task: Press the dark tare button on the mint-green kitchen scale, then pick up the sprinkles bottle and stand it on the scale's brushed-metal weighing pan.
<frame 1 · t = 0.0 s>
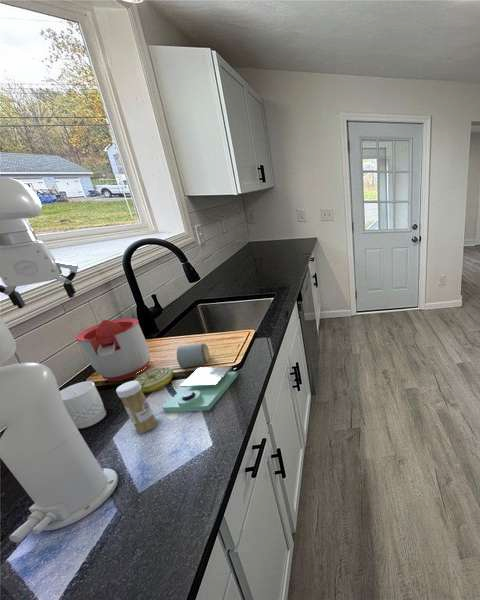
hand: (48, 301, 85), 31 cm above the counter, tool pointing down, fingers open, 9 cm apart
white cup: (91, 420, 86), on the counter
sprinkles bottle: (147, 427, 82), on the counter
tare button: (188, 395, 88), point 3 cm above the counter, slide at 0.2 cm
citrus juicer: (128, 373, 107), on the counter
decorated donut: (155, 384, 100), on the counter
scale: (203, 392, 95), on the counter
scale pan: (207, 376, 97), on the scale, point 3 cm above the counter
ceramic mug: (197, 362, 111), on the counter
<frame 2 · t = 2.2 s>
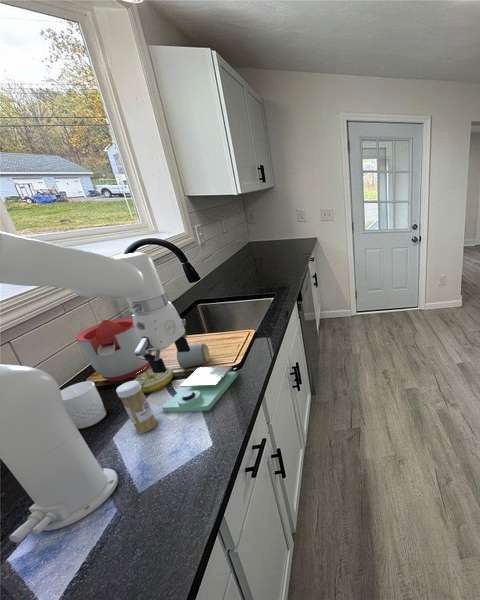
hand: (173, 361, 84), 15 cm above the counter, tool pointing down, fingers open, 9 cm apart
nothing on the counter moved.
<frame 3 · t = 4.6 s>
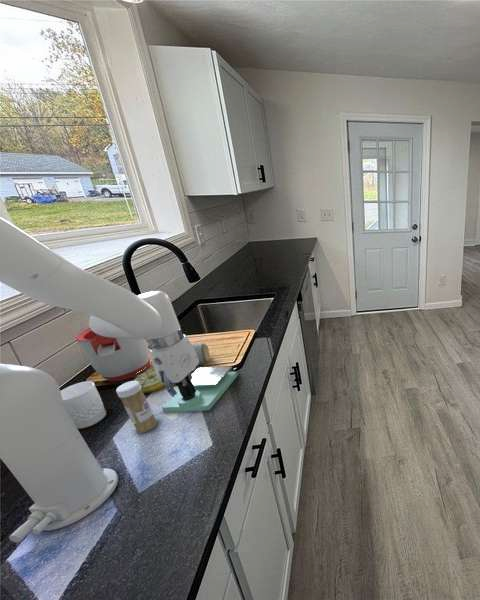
hand: (189, 394, 88), 4 cm above the counter, tool pointing down, fingers closed
tare button: (189, 397, 88), point 3 cm above the counter, slide at -0.3 cm, touching gripper
everything else where it was.
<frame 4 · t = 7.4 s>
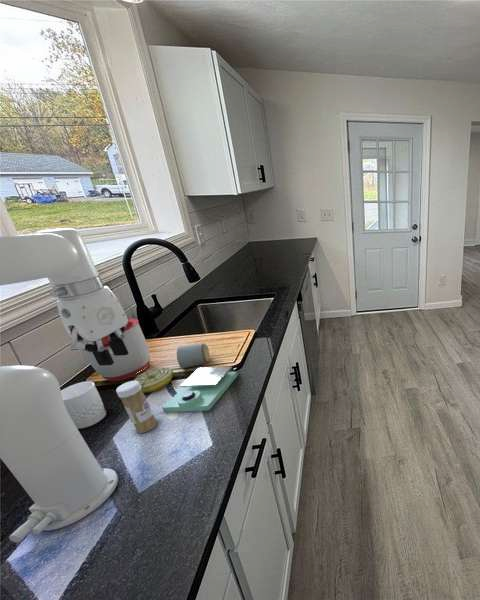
hand: (114, 359, 74), 21 cm above the counter, tool pointing down, fingers open, 3 cm apart
tare button: (188, 395, 88), point 3 cm above the counter, slide at 0.1 cm
everything else where it was.
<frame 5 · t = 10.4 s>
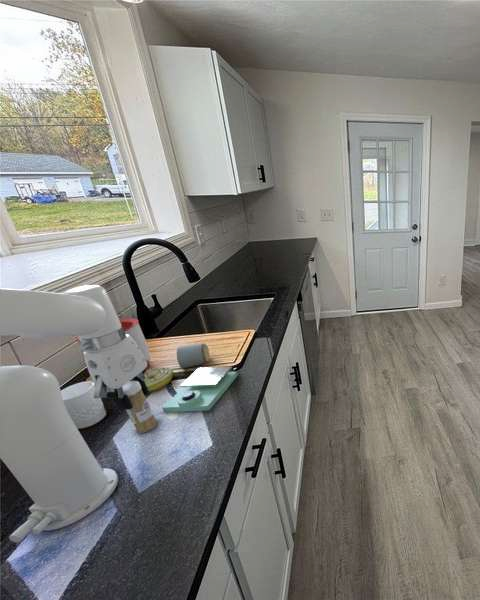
hand: (134, 400, 79), 9 cm above the counter, tool pointing down, fingers closed on sprinkles bottle, 4 cm apart
sprinkles bottle: (147, 427, 82), on the counter, touching gripper
everything else where it was.
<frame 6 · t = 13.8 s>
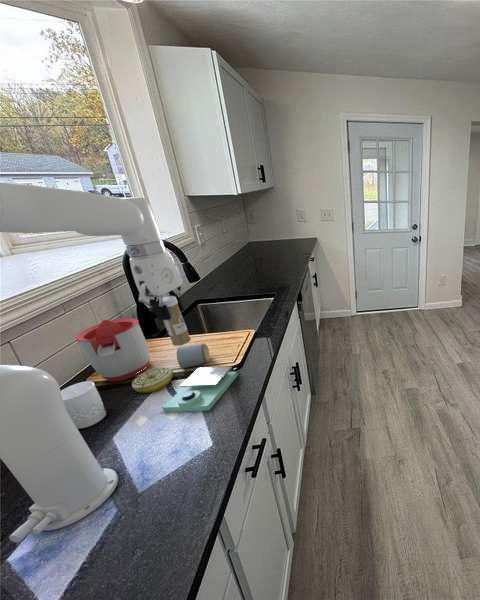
hand: (171, 314, 85), 26 cm above the counter, tool pointing down, fingers closed on sprinkles bottle, 4 cm apart
sprinkles bottle: (182, 342, 89), point 17 cm above the counter, touching gripper
everything else where it was.
when the fingers open (12 cm above the counter, at t = 17.4 s): sprinkles bottle stays where it is, resting on scale pan.
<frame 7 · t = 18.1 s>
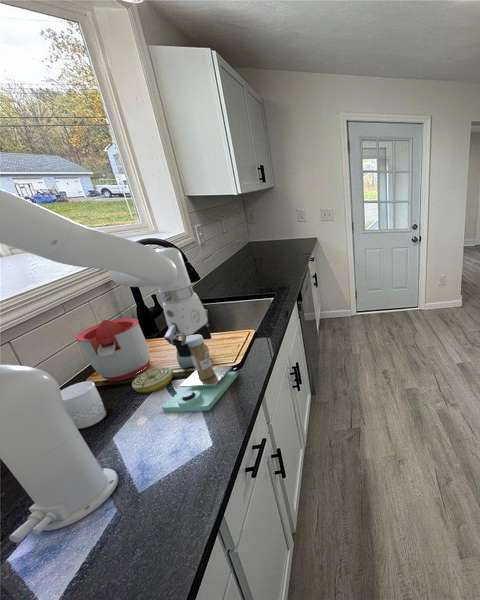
hand: (196, 347, 92), 14 cm above the counter, tool pointing down, fingers open, 9 cm apart
sprinkles bottle: (207, 376, 96), point 3 cm above the counter, touching scale pan
everything else where it was.
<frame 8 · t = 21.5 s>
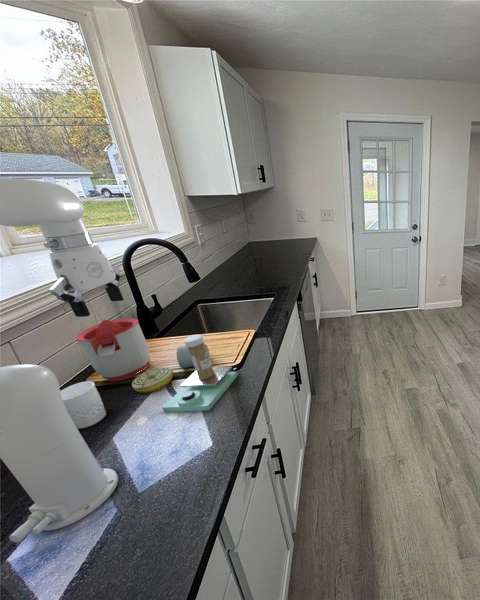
hand: (101, 307, 81), 30 cm above the counter, tool pointing down, fingers open, 9 cm apart
nothing on the counter moved.
at the end: tare button pushed in 0.7 cm at the most during the clip, back to where it started at the end; sprinkles bottle 0.4 cm from the target spot on the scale, point 3.4 cm above the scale's base; sprinkles bottle tilted 0° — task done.
